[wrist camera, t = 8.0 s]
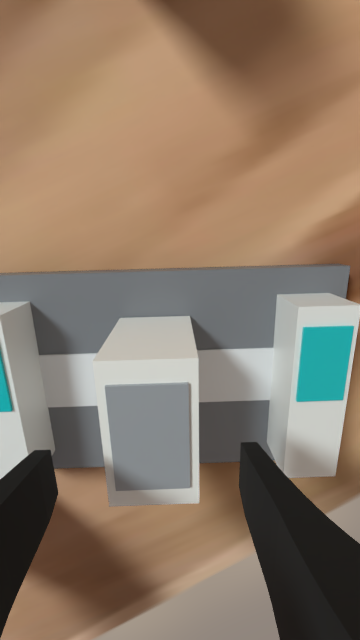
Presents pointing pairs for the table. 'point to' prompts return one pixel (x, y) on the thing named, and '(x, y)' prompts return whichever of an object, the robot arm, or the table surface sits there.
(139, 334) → the block
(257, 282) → the rail board
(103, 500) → the table surface
